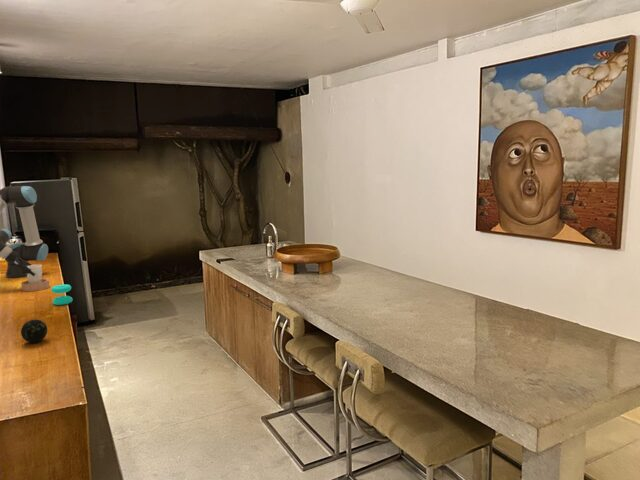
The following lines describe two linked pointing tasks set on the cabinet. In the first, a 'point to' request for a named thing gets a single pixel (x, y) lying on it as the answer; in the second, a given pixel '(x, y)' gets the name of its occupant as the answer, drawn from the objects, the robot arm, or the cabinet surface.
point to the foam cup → (37, 270)
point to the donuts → (62, 299)
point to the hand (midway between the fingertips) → (40, 276)
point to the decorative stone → (34, 331)
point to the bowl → (35, 285)
